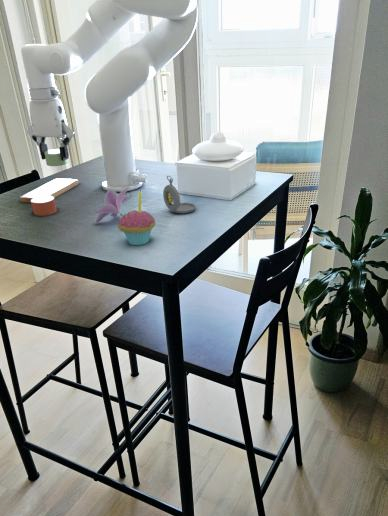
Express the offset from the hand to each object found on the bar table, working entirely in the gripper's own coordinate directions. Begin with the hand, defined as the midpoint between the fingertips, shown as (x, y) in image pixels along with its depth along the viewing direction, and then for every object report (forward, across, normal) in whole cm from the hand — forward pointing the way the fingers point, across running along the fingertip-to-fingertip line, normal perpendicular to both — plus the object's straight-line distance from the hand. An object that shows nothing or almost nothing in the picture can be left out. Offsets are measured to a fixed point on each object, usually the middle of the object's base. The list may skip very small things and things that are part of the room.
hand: (55, 158), depth 149 cm
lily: (+9, -33, +26) cm, 43 cm away
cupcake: (+9, -44, +36) cm, 57 cm away
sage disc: (+2, 0, 0) cm, 2 cm away
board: (+9, 0, +6) cm, 11 cm away
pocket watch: (+8, -46, +14) cm, 49 cm away
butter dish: (+8, -50, -8) cm, 51 cm away
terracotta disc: (+9, -9, +22) cm, 25 cm away
